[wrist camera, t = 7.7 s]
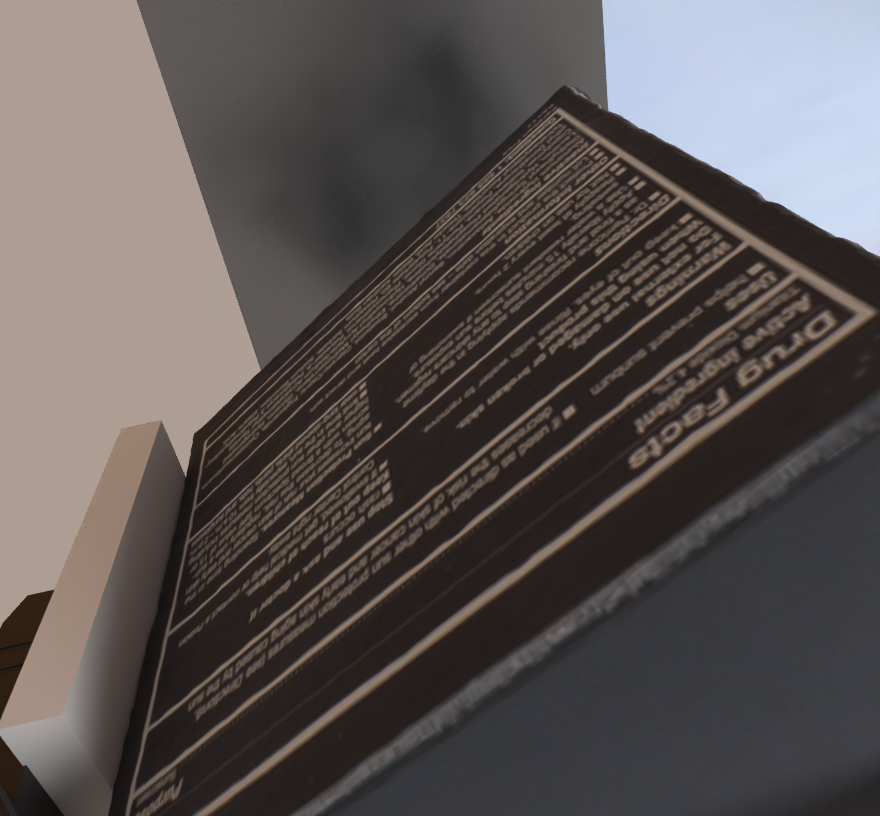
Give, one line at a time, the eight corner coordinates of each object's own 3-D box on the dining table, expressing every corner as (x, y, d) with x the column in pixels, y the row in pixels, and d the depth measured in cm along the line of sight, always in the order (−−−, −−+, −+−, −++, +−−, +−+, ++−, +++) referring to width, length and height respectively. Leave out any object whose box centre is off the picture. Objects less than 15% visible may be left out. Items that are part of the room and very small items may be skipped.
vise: (10, -421, 17) (-185, -657, 10) (552, -523, 17) (693, -813, 11) (328, 546, 31) (330, 699, 25) (616, 482, 31) (692, 617, 25)
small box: (395, 585, 19) (454, 1129, 10) (182, 435, 16) (12, 1010, 8) (747, 306, 17) (1241, 719, 8) (568, 67, 14) (1025, 280, 5)
